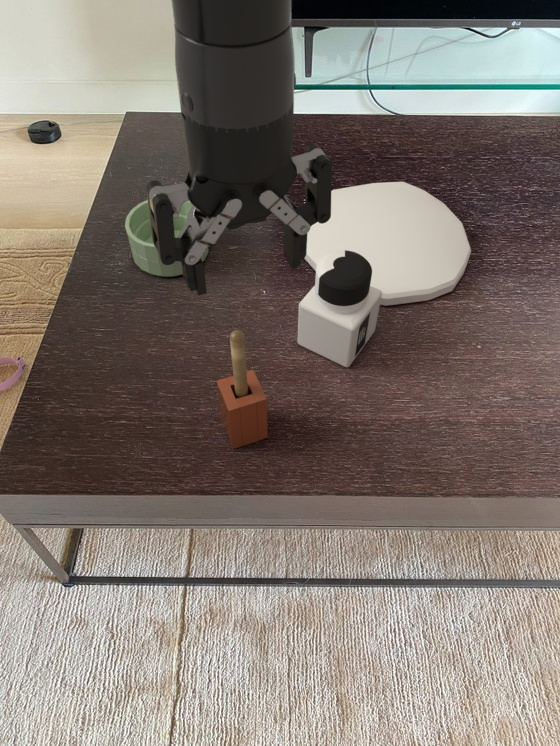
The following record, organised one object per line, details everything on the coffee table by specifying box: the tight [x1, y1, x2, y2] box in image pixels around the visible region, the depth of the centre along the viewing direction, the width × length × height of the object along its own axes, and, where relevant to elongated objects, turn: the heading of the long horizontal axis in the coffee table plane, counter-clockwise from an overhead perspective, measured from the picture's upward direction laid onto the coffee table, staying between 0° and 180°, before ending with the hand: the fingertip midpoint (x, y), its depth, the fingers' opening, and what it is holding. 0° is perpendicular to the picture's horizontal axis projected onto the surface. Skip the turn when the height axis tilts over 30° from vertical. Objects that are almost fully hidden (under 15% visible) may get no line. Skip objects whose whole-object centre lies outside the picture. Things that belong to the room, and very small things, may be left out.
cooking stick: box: [229, 329, 248, 399], centre depth 66 cm, size 1×1×17 cm
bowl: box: [124, 199, 210, 278], centre depth 90 cm, size 11×11×6 cm
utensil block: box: [216, 369, 269, 450], centre depth 70 cm, size 4×4×8 cm
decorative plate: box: [303, 181, 472, 307], centre depth 91 cm, size 25×4×25 cm
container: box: [296, 250, 382, 368], centre depth 77 cm, size 8×8×13 cm
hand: (246, 274), depth 53 cm, fingers open, 8 cm apart
